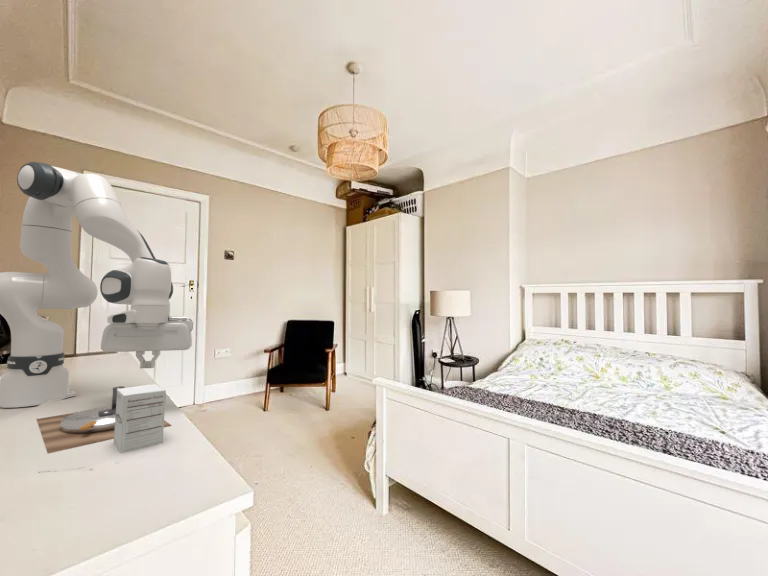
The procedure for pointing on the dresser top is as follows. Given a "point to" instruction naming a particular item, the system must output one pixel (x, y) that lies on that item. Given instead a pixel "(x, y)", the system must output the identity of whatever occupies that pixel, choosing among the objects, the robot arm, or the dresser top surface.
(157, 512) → the dresser top surface
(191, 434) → the dresser top surface
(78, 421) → the dial
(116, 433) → the supplement box
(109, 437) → the base board
